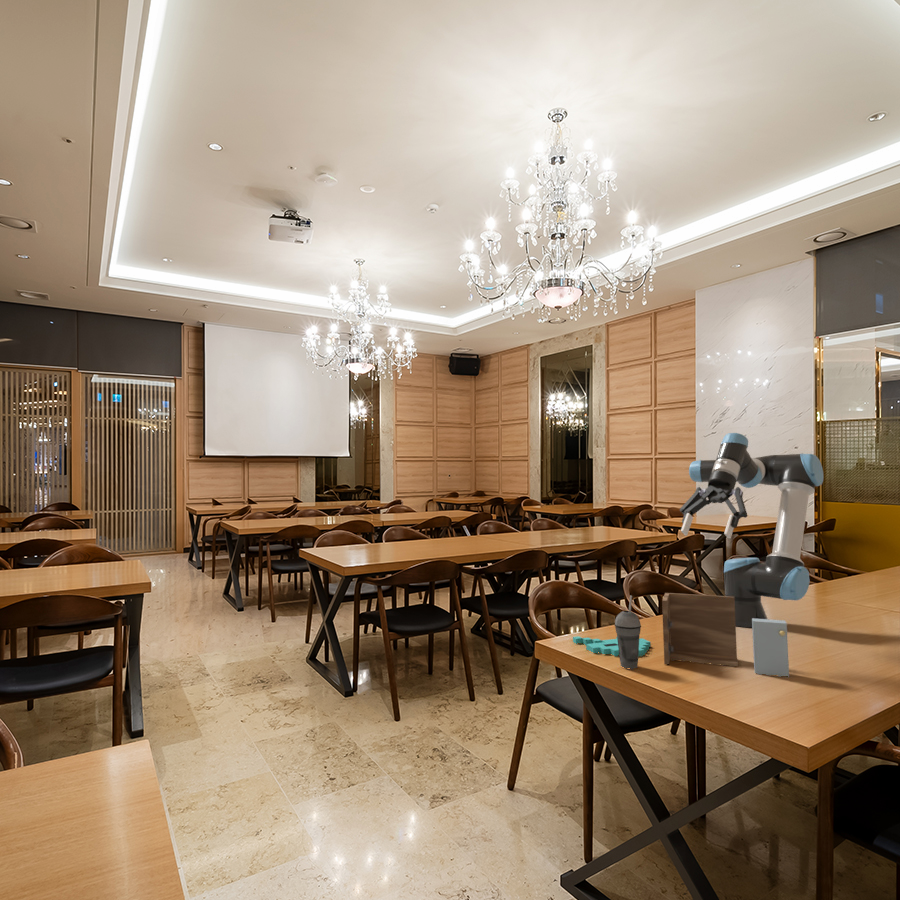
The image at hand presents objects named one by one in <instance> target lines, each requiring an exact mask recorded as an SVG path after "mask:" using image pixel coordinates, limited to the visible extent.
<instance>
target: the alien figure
mask: <svg viewBox="0 0 900 900" xmlns="http://www.w3.org/2000/svg"><path fill="white" fill-rule="evenodd" d="M573 642H574V643H573ZM572 643H573V644H575V643H576V645H578V644H577V643H583V644H582V645H584V644H585V645H584V646H585V648H586V649H587V650H589V651H591V652H593V653H597V654H601V653H602V654H612V655H614V656H615V657H619V656H618V655H619V648H618V640H617V636H616V638H613V639H603V640H602V639H599V638H591V637H582V636H572ZM651 643H652V642H651V641H649V640H647V639H645V638H643V637H642V638H639V653H638V657H644V656H643V655H645V654H647V653H648V651H649V650H650V648H649V647H651V645H652V644H651ZM587 650H586V651H587ZM589 651H588V652H589ZM591 652H590V653H591ZM598 652H599V653H598ZM593 653H592V654H593ZM602 654H601V655H602ZM612 655H611V656H612ZM614 656H613V657H614Z"/></svg>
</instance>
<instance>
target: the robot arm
mask: <svg viewBox="0 0 900 900" xmlns="http://www.w3.org/2000/svg"><path fill="white" fill-rule="evenodd" d="M748 447H749V439H748V438H747V437H746V436H745V435H743V434H741V433H738V432H728V433H727V434H725V435H724V436H723V438H722V441H721V443H720V446H719V450H718V453H717V456H716V459H706V460H703V459H699V460H694V461H692V462H691V463H690V465H689V468H688V474H689V478H690V479H691V481H692V482H695V483H707V487H706V488H701V487H700V486H698V487H696V490H695V491H694V493H693V494H692V495H691V496H690V497H689V498H688V499H687V500H686V502H685V503H684V504H682V506H681V507H680V508H679V512H680V513H682V515H683V518H682V520H681V523H682V526H681V528H680V532H681V533H682V534H683V535H684V536H688V534H689V531H690V529H691V525H692V523H693V520H694V515H695V514H697V512H699V511H700V510H701V509H703V508H705V507H706V506H707V505H710V504H717V503H718V504H723V503H725V504H726V505H727V507H728V509H729V510H730V512H731V513H732V514H729V517H728V520H727V523H726V527H725V530H724V533H723V534H724V535H725V537H726V538H727V539H730V540H731V539H732V535H733V532H734V529H735V528H737V527H738V526H739V521H740V519H741V518H747V517H748V512H747V509H746V506H745V502H744V499H743V495H744V492H743V491H742V489H741V488H740V487H739V486H737V487H736V484H737V483H738V484H739V485H740V486H742V487H743V488H746V489H747V488H748V489H750V488H754V487H756V486H758V485H759V484H760V485H764V486H765V485H766V486H777V488H778V490H780V492H781V493H780V502H779V506H778V514H777V520H776V526H775V531H774V538H773V544H772V545H773V546H772V550H771V551H772V552H771V553H769V554H767V556H765V557H766V558H765V562H761V561H760V559H759V557H739V558H738V557H737V558H732V559H731V558H730V559H727V560H726V561H724V566H723V576H724V577H723V578H724V595H725V596H730V597H734V600H735V624H736V627H740V626H741V627H742V628H752V618H755V619H768V616H767V614H766V611H765V608H764V607H763V603H762V597H764V598H771V599H778V600H779V599H780V600H783V601H799V600H801V599H803V598H805V596H806V594H807V592H808V590H809V586H810V583H811V582H810V581H811V580H810V572H809V570H808V569H807V567H805V563H804V561H802V559H801V554H802V553H801V552H802V547H803V546H802V545H803V539H804V533H805V532H804V531H805V526H806V518H807V511H808V506H809V505H808V503H809V496H811V495H813V494H814V493H815V489H816V487H819V486H822V485H823V482H824V470H823V465H822V463H821V461H820V459H819V458H818V456H817V455H815V454H813V453H803V452H801V453H796V454H795V453H794V454H793V453H792V454H790V453H789V454H772V455H764V456H763V455H762V456H758V457H751V454H750V453H749V452H748V450H747V449H748ZM733 495H734V497H735V499H736V503H737V506H738V510H739V511H738V510H737V509H736V508H735V506H734V504H733V503H732V502H731V499H729V498H731V497H732V496H733ZM741 627H740V628H741Z"/></svg>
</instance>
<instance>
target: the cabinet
mask: <svg viewBox="0 0 900 900" xmlns="http://www.w3.org/2000/svg"><path fill="white" fill-rule="evenodd" d="M661 605H662V606H661V609H662V612H661V613H662V633H663V634H662V635H663V660H664V663H663V664H669V665H670V662H671V661H674V660H681V661H680V662H684V661H691V662H690V663H694V662H700V663H699V664H704V663H711V664H710V665H713V664H721V665H720V666H723V665H731V666H730V667H733V666H738V667H739V664H738V662H739V661H738V651H737V650H738V649H737V626H736V624H735V600H734V597H730V596H724V595H713V594H711V595H710V594H709V595H707V594H695V593H694V594H691V593H690V594H689V593H675V592H664V595H663V598H662V601H661Z"/></svg>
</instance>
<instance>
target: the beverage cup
mask: <svg viewBox="0 0 900 900" xmlns="http://www.w3.org/2000/svg"><path fill="white" fill-rule="evenodd" d="M632 599H633V595H629V605H628V610H622V611H620V613H618V614H617V615H616V617H615V620H614V628H615V632H616V637H617V640H618V648H619V656H618V657H619V662H620V667H621V666H622V667H624V668H630V669H629V670H635V669H634V668H637V669H638V663H639V656H638V653H639V639H640V634H641V629H642V625H641V620H640V619H639V616H638V615H637V614H636V613H635V612H633V611H632ZM622 667H621V668H622ZM624 668H623V669H624Z"/></svg>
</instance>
